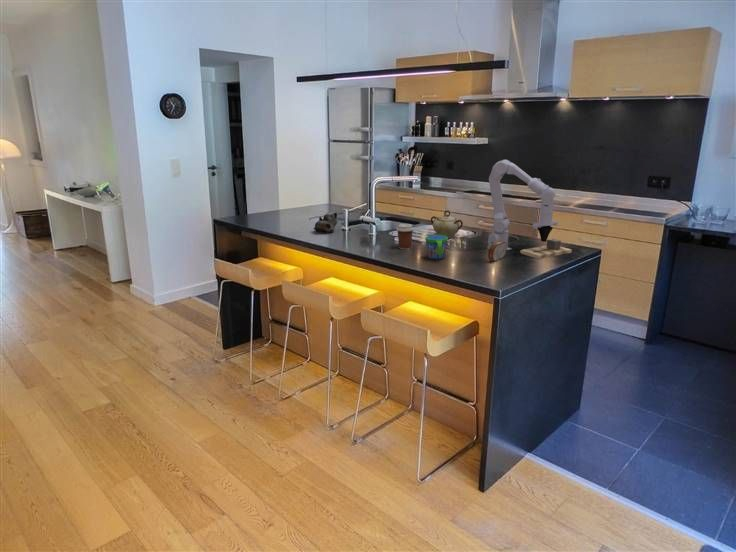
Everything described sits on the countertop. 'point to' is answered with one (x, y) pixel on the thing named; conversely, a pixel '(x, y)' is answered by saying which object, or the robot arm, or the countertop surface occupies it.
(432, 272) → the countertop surface
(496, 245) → the tin
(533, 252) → the fader board
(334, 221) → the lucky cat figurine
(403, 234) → the coffee cup
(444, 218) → the sugar bowl
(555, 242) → the fader knob
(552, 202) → the robot arm
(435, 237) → the snack cup
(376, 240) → the countertop surface
